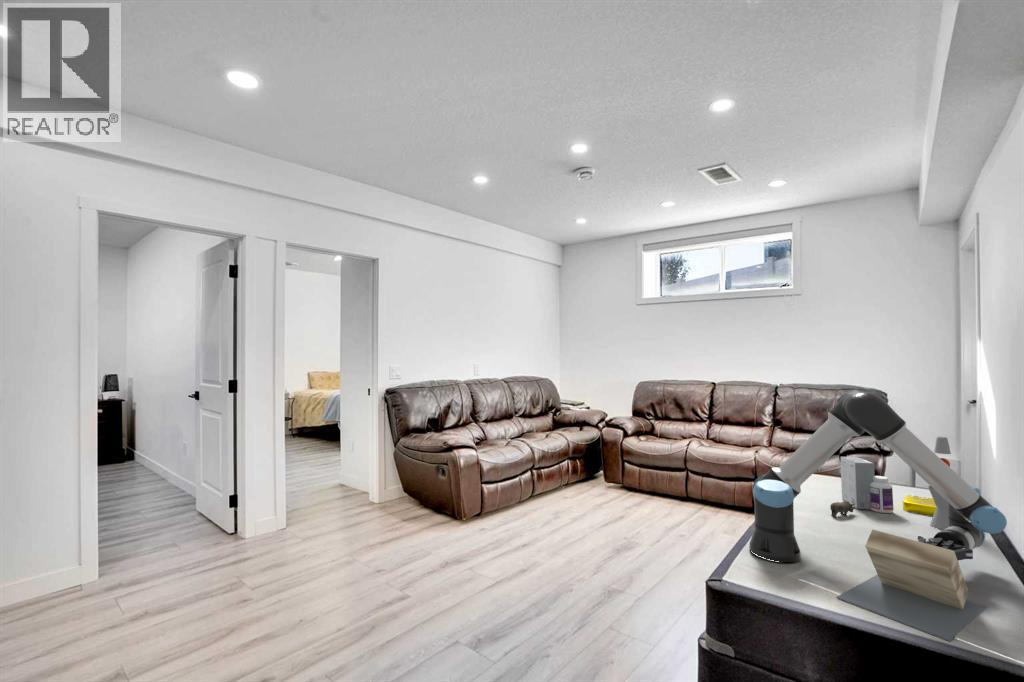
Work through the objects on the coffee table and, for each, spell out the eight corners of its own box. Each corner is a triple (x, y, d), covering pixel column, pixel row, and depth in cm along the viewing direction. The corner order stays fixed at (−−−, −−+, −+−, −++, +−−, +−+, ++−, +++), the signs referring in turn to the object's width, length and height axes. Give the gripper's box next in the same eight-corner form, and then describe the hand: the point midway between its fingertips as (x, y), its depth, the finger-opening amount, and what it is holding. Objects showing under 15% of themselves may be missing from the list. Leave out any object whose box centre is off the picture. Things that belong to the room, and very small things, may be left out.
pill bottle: (892, 510, 208) (891, 476, 209) (894, 515, 202) (892, 480, 202) (869, 507, 213) (868, 474, 214) (870, 512, 206) (868, 477, 207)
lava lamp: (958, 533, 181) (955, 439, 182) (927, 527, 188) (924, 436, 189) (962, 528, 187) (959, 437, 188) (931, 522, 194) (929, 434, 195)
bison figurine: (860, 515, 202) (859, 500, 203) (836, 519, 198) (836, 504, 198) (850, 512, 206) (850, 498, 207) (827, 516, 202) (826, 501, 202)
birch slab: (888, 565, 144) (872, 528, 139) (968, 590, 129) (954, 550, 124) (881, 582, 142) (865, 545, 137) (962, 610, 126) (947, 569, 121)
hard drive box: (876, 510, 208) (874, 463, 208) (856, 509, 209) (854, 462, 210) (860, 500, 223) (858, 456, 224) (841, 499, 224) (839, 456, 225)
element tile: (902, 511, 209) (902, 500, 209) (907, 503, 219) (906, 493, 219) (949, 519, 198) (948, 507, 198) (951, 511, 209) (951, 500, 209)
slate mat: (881, 573, 148) (881, 572, 148) (988, 608, 128) (988, 606, 128) (836, 598, 133) (836, 596, 133) (950, 641, 113) (950, 640, 113)
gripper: (982, 562, 142) (953, 582, 129) (926, 547, 153) (894, 564, 140) (982, 536, 142) (952, 553, 129) (926, 523, 153) (894, 537, 141)
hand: (922, 559), depth 135 cm, fingers closed
